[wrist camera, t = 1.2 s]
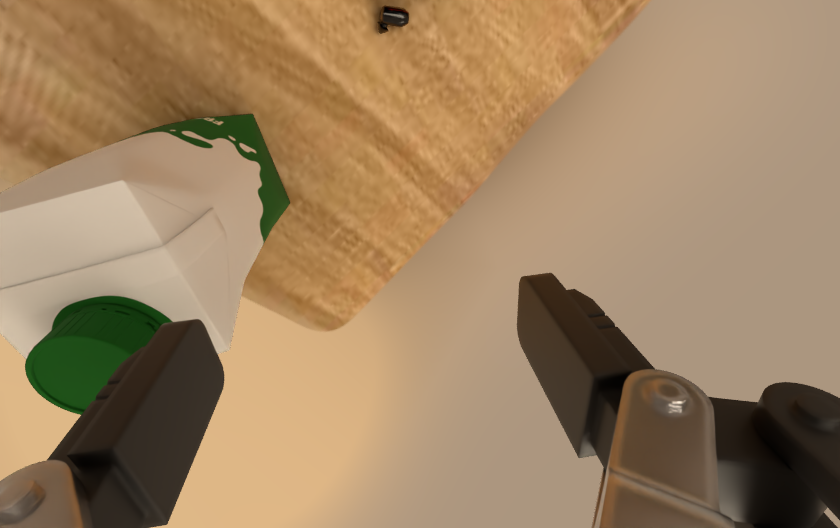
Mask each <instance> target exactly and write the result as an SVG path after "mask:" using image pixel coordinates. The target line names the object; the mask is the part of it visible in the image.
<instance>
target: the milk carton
mask: <svg viewBox="0 0 840 528" xmlns="http://www.w3.org/2000/svg"><path fill="white" fill-rule="evenodd" d="M289 204H290V201H289V199H288V196H287V194H286V191H285V189H284V187H283V184H282V182H281V180H280V177H279V175H278V172H277V170H276V168H275V165H274V163H273V161H272V158H271V156H270V153H269V151H268V149H267V146H266V144H265V142H264V139H263V137H262V135H261V132H260V130H259V127H258V125H257V123H256V120H255V118H254V115H253V114H247V115H233V116H219V117H206V118H196V119H190V120H186V121H182V122H177V123H172V124H168V125H163V126H160V127H156V128H153V129H150V130H148V131H145V132H142V133H140V134H137V135H134V136H132V137H129V138H126V139H124V140H121V141H118V142H116V143H113V144H111V145H108V146H105V147H103V148H100V149H97V150H95V151H92V152H90V153H87V154H84V155H82V156H79V157H77V158H74V159H72V160H69V161H67V162H64V163H62V164H59V165H57V166H54V167H52V168H49V169H47V170H45V171H43V172H40V173H38V174H36V175H34V176H32V177H30V178H28V179H26V180H24V181H22V182H20V183H18V184H16V185H14V186H12V187H10V188H8V189H6V190H4V191H2V192H1V193H0V334H1V335H2V336H3V337H4V338H5V339H6V340H7V341H8V342H9V343H10V344H11V345H12V346H13V347H14V348H15V349H16V350H17V351H18V352H19V353H20V354H21V355H22V356H23V357H24V358H25V359H26V364H25V370H26V375H27V378H28V380H29V382H30V383H31V385H32V386H33V388H34V389H35V390H36V391H37V392H38V393H39V394H40V395H41V396H42V397H44V398H45V399H46V400H48V401H49V402H51V403H52V404H54V405H56V406H58V407H60V408H62V409H65V410H67V411H70V412H73V413H77V414H80V415H82V414H83V412H84V411H85V410H86V408H87V407H88V406H89V404H90V403H91V402H92V401H95V397H96V395H97V394H98V393H99V391H100V390H101V389H102V388H103V386H104V385H107V381H108V380H109V378H110V377H111V376H112V374H113V373H114V372H115V371H116V369H117V368H118V367H119V365H120V364H121V363H122V362H124V361H125V360H126V359H127V358H129V357H130V356H131V355H132V354H134V353H135V352H136V351H137V350H139V349H140V348H141V347H145V346H146V345H147V344H148V342H149V341H150V340H151V338H152V337H153V335H154V334H155V333H156V331H157V330H158V329H159V327H160V326H161V325H162V324H164V323H170V322H177V321H185V320H192V319H199V320H201V321H202V322H203V323H204V325H205V327H206V329H207V331H208V334H209V336H210V338H211V341H212V343H213V345H214V348H215V350H216V352H217V354H219V353H223V352H226V351H229V350H230V346H231V341H232V337H233V332H234V327H235V322H236V318H237V313H238V308H239V303H240V299H241V294H242V290H243V285H244V281H245V278H246V276H247V274H248V273H249V271H250V269H251V267H252V265H253V263H254V261H255V259H256V257H257V255H258V254H259V252H260V250H261V248H262V246H263V244H264V242H265V240H266V238H267V237H268V235H269V233H270V231H271V229H272V227H273V226H274V225H275V223H276V222H277V221H278V219H279V218H280V216H281V215H282V214H283V212H284V211H285V210H286V208H287V207H288V205H289Z"/></svg>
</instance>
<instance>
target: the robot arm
mask: <svg viewBox="0 0 840 528" xmlns="http://www.w3.org/2000/svg"><path fill="white" fill-rule="evenodd" d="M517 331H518V337H519V341H520V344H521V347H522V349H523V351H524V353H525V355H526V357H527V359H528V361H529V363H530V365H531V367H532V369H533V370H534V372H535V374H536V376H537V378H538V380H539V382H540V384H541V386H542V388H543V390H544V392H545V394H546V395H547V397H548V399H549V401H550V403H551V405H552V407H553V409H554V411H555V413H556V415H557V417H558V419H559V421H560V423H561V425H562V426H563V428H564V430H565V432H566V434H567V436H568V438H569V440H570V442H571V444H572V446H573V448H574V450H575V452H576V453H577V455H578V457H579V458H583V457H589V456H594V455H597V456H598V458H599V459H600V461H601V463H602V465H603V467H604V468H603V472H602V477H601V482H600V487H599V492H598V497H597V502H596V507H595V512H594V517H593V522H592V528H837V526H836V525H835V524H834V523H833V522H832V521H831V520H830V519H829V518H828V517H827V516H826V514H825V513H824V511H825V510H826V509H827V507H828V508H829V509H830V510H831V511H832V512H833V513H834V514H835V516H836V517H837V518H838V519H839V520H840V398H838V397H836V396H834V395H832V394H830V393H828V392H825V391H823V390H820V389H817V388H814V387H811V386H808V385H803V384H798V383H789V382H782V383H775V384H772V385H770V386H768V387H767V388H765V390H764V391H763V393H762V396H761V398H760V400H759V402H749V401H738V400H729V399H721V398H712V397H708V396H707V395H706V394H705V393H704V392H703V391H702V390H701V389H700V388H699V387H698V386H696V385H695V384H694V383H692V382H690V381H689V380H687V379H685V378H683V377H681V376H679V375H677V374H674V373H671V372H667V371H662V370H655V368H654V367H653V366H652V365H651V364H650V363H649V362H648V361H647V359H646V358H645V357H644V356H643V355H642V354H641V353H640V352H639V351H638V350H637V348H636V347H635V346H634V345H633V344H632V343H631V342H630V341H629V339H628V338H627V337H626V336H625V335H624V334H623V333H622V332H621V330H620V329H619V328H618V327H615V324H614V323H613V322H612V320H611V319H610V318H609V317H608V316H605V313H604V311H603V310H602V309H601V308H600V307H599V306H598V305H597V304H596V303H595V301H593V299H591V298H589V297H588V296H586V295H584V294H582V293H581V292H579V291H577V290H575V289H571V290H566V289H565V288H564V287H563V285H562V284H561V283H560V282H559V280H558V279H557V278H556V277H555V276H554V275H553V274H552V273H545V274H538V275H531V276H523V277H521V279H520V282H519V299H518V316H517ZM223 385H224V371H223V366H222V364H221V362H220V359H219V357H218V354H217V352H216V350H215V348H214V345H213V343H212V341H211V338H210V336H209V334H208V331H207V329H206V327H205V325H204V323H203V322H202V321H201V320H199V319H192V320H185V321H177V322H170V323H164V324H162V325H161V326H160V327H159V329H158V330H157V331H156V333H155V334H154V335H153V337H152V338H151V340H150V341H149V342H148V344H147V345H146V346H145V347H141V348H140V349H139V350H137V351H136V352H135V353H134V354H132V355H131V356H130V357H129V358H127V359H126V360H125V361H124V362H122V363H121V364H120V365H119V367H118V368H117V369H116V371H115V372H114V373H113V374H112V376H111V377H110V378H109V380H108V381H107V385H104V386H103V388H102V389H101V390H100V391H99V393H98V394H97V395H96V397H95V401H92V402H91V403H90V404H89V406H88V407H87V408H86V410H85V411H84V412H83V414H82V415H81V416H80V418H79V419H78V420H77V421H76V423H75V424H74V425H73V427H72V428H71V429H70V431H69V432H68V433H67V435H66V436H65V437H64V439H63V440H62V441H61V442H60V444H59V445H58V446H57V448H56V449H55V450H54V452H53V453H52V454H51V455H50V457H49V458H48V459H47V461H42V462H38V463H35V464H32V465H29V466H27V467H25V468H22V469H20V470H18V471H16V472H14V473H13V474H11V475H9V476H7V477H6V478H4V479H3V480H1V481H0V528H150V527H156V526H162V525H167V523H168V521H169V519H170V516H171V514H172V511H173V509H174V507H175V504H176V501H177V499H178V497H179V494H180V492H181V489H182V487H183V485H184V482H185V480H186V477H187V475H188V473H189V470H190V468H191V465H192V463H193V460H194V458H195V456H196V453H197V451H198V448H199V446H200V443H201V441H202V439H203V436H204V433H205V431H206V429H207V427H208V424H209V422H210V419H211V417H212V414H213V412H214V410H215V407H216V404H217V402H218V400H219V397H220V395H221V392H222V390H223Z"/></svg>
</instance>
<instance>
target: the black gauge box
mask: <svg viewBox="0 0 840 528" xmlns="http://www.w3.org/2000/svg"><path fill="white" fill-rule="evenodd" d="M380 18H381V22H378V31H379V33H380V34H382V33H385V32H388V29H387V26H388V25H390V26H397V27H403V26H405V25H407V24H408V21H409V13H408V12H407V11H406V10H405V9H404V8H399V7H392V6H383V7H382V10H381V13H380Z"/></svg>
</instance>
